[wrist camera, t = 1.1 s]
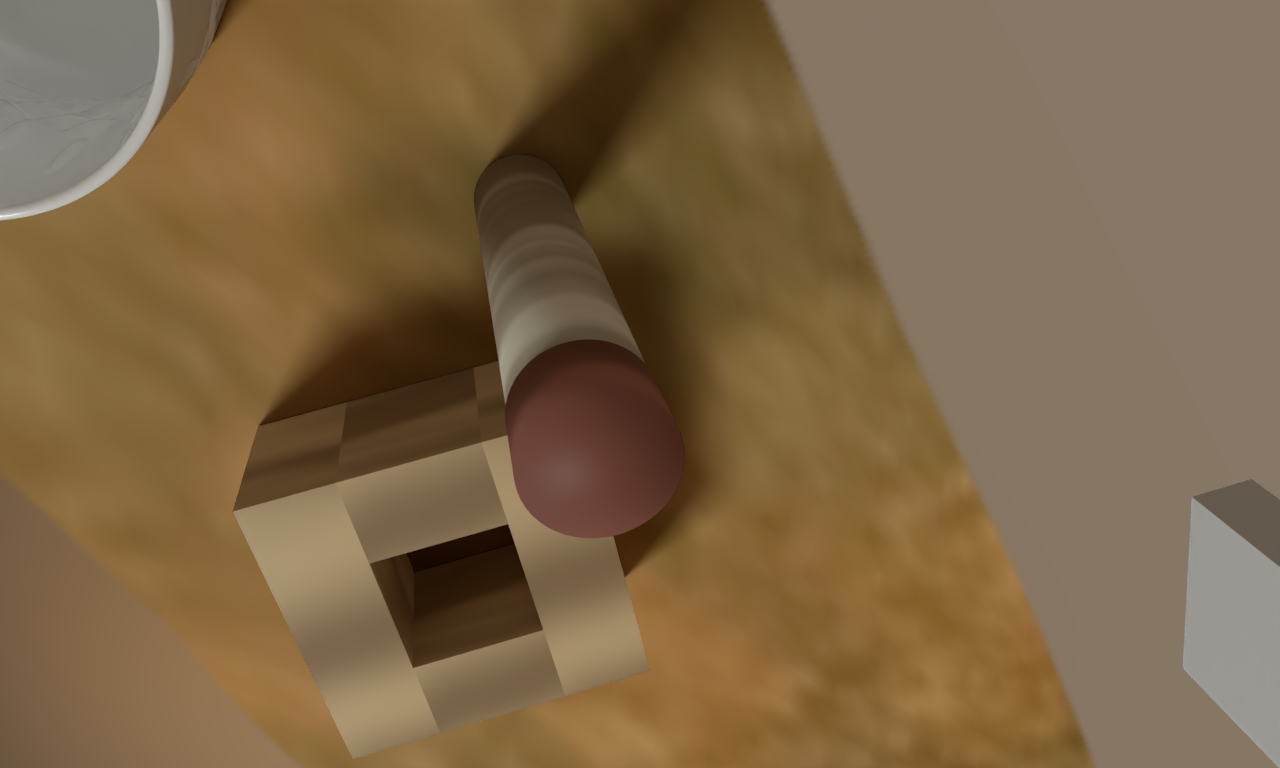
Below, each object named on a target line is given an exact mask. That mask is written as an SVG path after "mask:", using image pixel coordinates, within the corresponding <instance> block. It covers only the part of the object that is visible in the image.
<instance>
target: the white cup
mask: <svg viewBox="0 0 1280 768" xmlns="http://www.w3.org/2000/svg"><path fill="white" fill-rule="evenodd" d="M226 3H227V0H0V220H8V219H15V218H21V217H27V216H31V215H36V214H40V213H43V212H47V211H50V210H53V209H56V208H59V207H61V206H64V205H66V204H69V203H71V202H73V201H75V200H77V199H79V198H81V197H83V196H85V195H87V194H88V193H90V192H92V191H93V190H95V189H97V188H98V187H100V186H101V185H102V184H104V183H105V182H106V181H108V180H109V179H110V178H111V177H113V176H114V175H115V174H116V173H117V172H118V171H120V170H121V169H122V168H123V167H124V166H125V165H126V164H127V163H128V162H129V160H130V159H131V158H132V157H133V156H134V155H135V153H136V152H137V151H138V150H139V148H140V147H141V146H142V144H143V143H144V142H145V140H146V139H147V138H148V136H149V135H150V134H151V132H152V131H153V130H154V128H155V127H156V126H157V125H158V123H159V122H160V121H161V119H162V118H163V117H164V116H165V114H166V113H167V112H168V111H169V109H170V108H171V107H172V106H173V104H174V103H175V102H176V101H177V99H178V98H179V97H180V95H181V94H182V93H183V91H184V90H185V88H186V87H187V85H188V83H189V81H190V79H191V78H192V77H193V76H194V74H195V73H196V71H197V69H198V67H199V66H200V64H201V62H202V61H203V59H204V57H205V55H206V53H207V51H208V50H209V49H210V47H211V44H212V41H213V38H214V36H215V33H216V30H217V27H218V25H219V22H220V19H221V16H222V14H223V11H224V8H225V5H226Z"/></svg>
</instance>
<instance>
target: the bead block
mask: <svg viewBox="0 0 1280 768" xmlns="http://www.w3.org/2000/svg"><path fill="white" fill-rule="evenodd" d="M505 406H506V405H505V399H504V392H503V386H502V379H501V373H500V367H499V361H496V362H493V363H489V364H485V365H482V366H478V367H474V368H471V369H467V370H463V371H460V372H456V373H452V374H449V375H445V376H441V377H438V378H434V379H430V380H427V381H423V382H419V383H416V384H412V385H408V386H405V387H401V388H397V389H394V390H390V391H386V392H383V393H379V394H375V395H372V396H368V397H364V398H361V399H357V400H353V401H350V402H346V403H342V404H338V405H335V406H331V407H327V408H324V409H320V410H316V411H313V412H309V413H305V414H302V415H298V416H294V417H291V418H287V419H283V420H280V421H276V422H272V423H269V424H265V425H261V426H258V428H257V432H256V435H255V438H254V442H253V445H252V449H251V452H250V455H249V459H248V462H247V465H246V469H245V472H244V475H243V479H242V482H241V485H240V489H239V492H238V496H237V499H236V502H235V506H234V509H233V513H234V515H235V517H236V519H237V521H238V523H239V526H240V528H241V530H242V532H243V534H244V536H245V538H246V540H247V542H248V544H249V546H250V548H251V550H252V552H253V554H254V556H255V558H256V560H257V563H258V565H259V567H260V569H261V571H262V573H263V575H264V577H265V579H266V581H267V583H268V585H269V587H270V589H271V591H272V593H273V595H274V598H275V600H276V602H277V604H278V606H279V608H280V610H281V612H282V614H283V616H284V618H285V620H286V622H287V624H288V626H289V628H290V630H291V633H292V635H293V637H294V639H295V641H296V643H297V645H298V647H299V649H300V651H301V653H302V655H303V657H304V659H305V661H306V663H307V665H308V668H309V670H310V672H311V674H312V676H313V678H314V680H315V682H316V684H317V686H318V688H319V690H320V692H321V694H322V696H323V698H324V700H325V703H326V705H327V707H328V709H329V711H330V713H331V715H332V717H333V719H334V721H335V723H336V725H337V727H338V729H339V731H340V733H341V735H342V738H343V740H344V742H345V744H346V746H347V748H348V750H349V752H350V754H351V756H352V758H353V759H355V758H359V757H362V756H366V755H369V754H372V753H376V752H379V751H382V750H386V749H389V748H392V747H396V746H399V745H402V744H406V743H409V742H413V741H416V740H419V739H423V738H426V737H429V736H433V735H436V734H439V733H443V732H446V731H449V730H453V729H456V728H460V727H463V726H466V725H470V724H473V723H476V722H480V721H483V720H486V719H490V718H493V717H496V716H500V715H503V714H507V713H510V712H513V711H517V710H520V709H523V708H527V707H530V706H533V705H537V704H540V703H544V702H547V701H550V700H554V699H557V698H560V697H564V696H567V695H570V694H574V693H577V692H580V691H584V690H587V689H591V688H594V687H597V686H601V685H604V684H607V683H611V682H614V681H617V680H621V679H624V678H627V677H631V676H634V675H638V674H641V673H644V672H648V671H650V669H649V665H648V661H647V658H646V654H645V650H644V647H643V643H642V639H641V636H640V632H639V628H638V625H637V621H636V617H635V614H634V610H633V606H632V603H631V599H630V595H629V592H628V588H627V584H626V581H625V577H624V573H623V570H622V566H621V562H620V559H619V555H618V551H617V548H616V544H615V540H614V537H613V536H610V537H604V538H578V537H572V536H568V535H564V534H562V533H559V532H556V531H554V530H552V529H550V528H548V527H546V526H545V525H543V524H542V523H540V522H539V521H538V520H537V519H536V518H534V517H533V516H532V515H531V514H530V512H529V511H528V510H527V509H526V508H525V506H524V504H523V503H522V501H521V499H520V497H519V495H518V492H517V490H516V486H515V482H514V476H513V469H512V462H511V456H510V449H509V443H508V436H507V429H506V422H505ZM507 524H508V525H509V528H510V531H511V534H512V537H513V540H514V543H515V544H512V545H508V546H505V547H501V548H498V549H494V550H491V551H487V552H484V553H480V554H477V555H473V556H470V557H466V558H463V559H459V560H456V561H452V562H449V563H445V564H442V565H438V566H435V567H431V568H428V569H424V570H421V571H417V572H414V570H413V568H412V565H411V563H410V560H409V558H408V555H407V553H408V552H412V551H415V550H419V549H422V548H426V547H429V546H433V545H436V544H440V543H443V542H447V541H451V540H454V539H458V538H461V537H465V536H468V535H472V534H475V533H479V532H482V531H486V530H489V529H493V528H496V527H500V526H503V525H507Z"/></svg>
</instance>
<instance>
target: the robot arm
mask: <svg viewBox="0 0 1280 768" xmlns="http://www.w3.org/2000/svg"><path fill="white" fill-rule="evenodd" d="M1190 526H1191V527H1190V544H1189V564H1188V581H1187V600H1186V619H1185V636H1184V655H1183V669H1184V670H1185V671H1186V672H1187V673H1188V674H1189V675H1190V676H1191V677H1192V678H1193V679H1194V680H1195V681H1196V682H1197V683H1198V685H1200V687H1201V688H1202V689H1203V690H1204V691H1205V692H1206V693H1207V694H1208V695H1209V696H1210V697H1211V698H1212V699H1213V700H1214V701H1215V702H1216V703H1217V704H1218V705H1219V706H1220V707H1221V708H1222V709H1223V710H1224V711H1225V712H1226V713H1227V715H1229V717H1230V718H1231V719H1232V720H1233V721H1234V722H1235V723H1236V724H1237V725H1238V726H1239V727H1240V728H1241V729H1242V730H1243V731H1244V732H1245V733H1246V734H1247V735H1248V736H1249V737H1250V738H1251V739H1252V740H1253V741H1254V743H1256V745H1257V746H1258V747H1259V748H1260V749H1261V750H1262V751H1263V752H1264V753H1265V754H1266V755H1267V756H1268V757H1269V758H1270V759H1271V760H1272V761H1273V762H1274V763H1275V764H1276V765H1277V766H1278V767H1279V768H1280V500H1279V499H1278V498H1277V497H1275V496H1274V495H1273V494H1271V493H1270V492H1268V491H1267V490H1266V489H1264V488H1263V487H1261V486H1260V485H1259V484H1257V483H1256V482H1255V481H1253V480H1248V481H1244V482H1241V483H1237V484H1234V485H1231V486H1227V487H1224V488H1221V489H1217V490H1214V491H1211V492H1207V493H1204V494H1200V495H1198V496H1194V497H1192V507H1191V525H1190Z"/></svg>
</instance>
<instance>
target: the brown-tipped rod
mask: <svg viewBox="0 0 1280 768" xmlns="http://www.w3.org/2000/svg"><path fill="white" fill-rule="evenodd" d="M474 207H475V213H476V220H477V226H478V233H479V239H480V245H481V252H482V258H483V265H484V271H485V277H486V284H487V290H488V296H489V303H490V309H491V316H492V322H493V328H494V335H495V341H496V348H497V354H498V360H499V367H500V373H501V379H502V386H503V392H504V399H505V405H506V406H505V422H506V429H507V436H508V443H509V449H510V456H511V462H512V469H513V476H514V482H515V486H516V490H517V492H518V495H519V497H520V499H521V501H522V503H523V504H524V506H525V508H526V509H527V510H528V511H529V512H530V514H531V515H532V516H533V517H534V518H536V519H537V520H538V521H539V522H540V523H542V524H543V525H545V526H546V527H548V528H550V529H552V530H554V531H556V532H559V533H562V534H564V535H568V536H572V537H578V538H604V537H610V536H615V535H619V534H622V533H625V532H628V531H630V530H632V529H634V528H636V527H639V526H640V525H642V524H644V523H645V522H647V521H648V520H650V519H651V518H652V517H654V516H655V515H656V514H657V513H658V512H659V511H660V510H661V509H662V508H663V507H664V506H665V505H666V504H667V503H668V501H669V500H670V499H671V497H672V496H673V494H674V492H675V491H676V489H677V487H678V484H679V482H680V480H681V476H682V473H683V468H684V456H685V452H684V445H683V441H682V437H681V434H680V432H679V429H678V427H677V425H676V423H675V421H674V419H673V416H672V414H671V412H670V410H669V408H668V406H667V403H666V401H665V399H664V397H663V395H662V393H661V390H660V388H659V386H658V384H657V382H656V380H655V378H654V376H653V374H652V372H651V371H650V369H649V368H648V366H647V365H646V364H645V362H644V360H643V358H642V355H641V353H640V351H639V349H638V347H637V344H636V342H635V340H634V338H633V336H632V333H631V331H630V329H629V327H628V325H627V322H626V320H625V318H624V316H623V314H622V312H621V309H620V307H619V305H618V303H617V301H616V298H615V296H614V294H613V292H612V290H611V287H610V285H609V283H608V281H607V279H606V276H605V274H604V272H603V270H602V268H601V265H600V263H599V261H598V259H597V257H596V254H595V252H594V250H593V248H592V246H591V244H590V241H589V239H588V237H587V235H586V233H585V230H584V228H583V226H582V224H581V222H580V219H579V217H578V215H577V213H576V211H575V208H574V206H573V204H572V202H571V200H570V197H569V195H568V193H567V191H566V189H565V186H564V184H563V182H562V180H561V178H560V176H559V175H558V173H557V172H556V171H555V170H554V168H552V167H551V166H550V165H549V164H548V163H546V162H545V161H543V160H541V159H539V158H537V157H534V156H530V155H522V154H518V155H510V156H506V157H503V158H501V159H499V160H497V161H495V162H494V163H492V164H491V165H490V166H489V167H487V168H486V170H485V171H484V172H483V173H482V175H481V176H480V178H479V180H478V182H477V185H476V188H475V192H474Z"/></svg>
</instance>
